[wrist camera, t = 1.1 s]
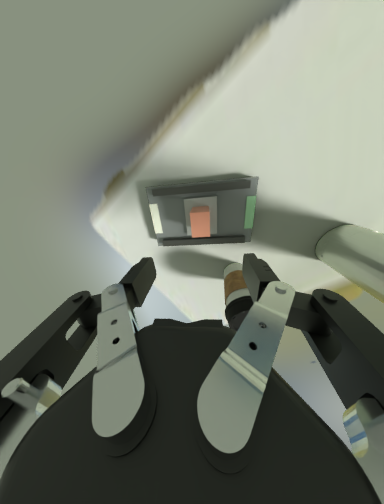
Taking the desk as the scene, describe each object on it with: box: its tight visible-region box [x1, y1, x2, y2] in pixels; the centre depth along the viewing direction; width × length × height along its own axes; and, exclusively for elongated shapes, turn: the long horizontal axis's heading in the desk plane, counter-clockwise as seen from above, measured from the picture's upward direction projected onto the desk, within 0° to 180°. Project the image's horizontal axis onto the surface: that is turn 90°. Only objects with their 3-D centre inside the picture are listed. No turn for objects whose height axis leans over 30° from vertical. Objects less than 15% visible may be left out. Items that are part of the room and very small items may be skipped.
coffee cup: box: [224, 263, 254, 332], centre depth 29 cm, size 8×8×15 cm
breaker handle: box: [184, 196, 217, 237], centre depth 24 cm, size 6×7×6 cm
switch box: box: [146, 177, 258, 246], centre depth 28 cm, size 20×12×4 cm, turn 95°
